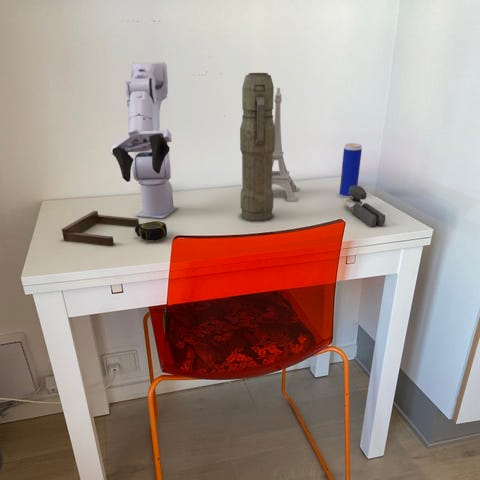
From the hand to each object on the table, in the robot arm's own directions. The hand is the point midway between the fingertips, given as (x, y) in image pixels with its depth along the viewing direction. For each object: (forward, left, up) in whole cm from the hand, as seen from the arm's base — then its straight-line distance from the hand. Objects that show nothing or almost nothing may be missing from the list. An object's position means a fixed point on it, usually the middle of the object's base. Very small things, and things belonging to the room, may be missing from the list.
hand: (141, 175), depth 105 cm
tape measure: (-4, -1, -17) cm, 17 cm away
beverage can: (-52, +42, -17) cm, 69 cm away
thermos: (-26, +20, -17) cm, 37 cm away
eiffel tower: (-48, +20, -17) cm, 55 cm away
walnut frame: (-4, -14, -16) cm, 22 cm away
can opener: (-35, +47, -17) cm, 61 cm away
